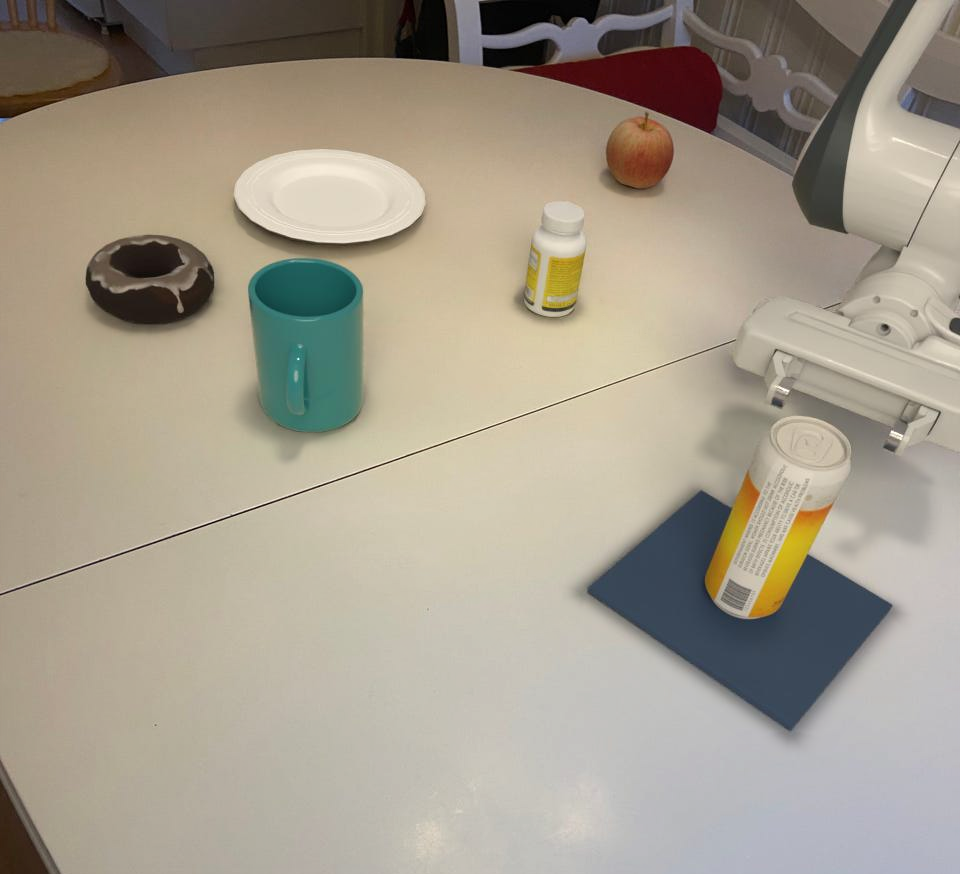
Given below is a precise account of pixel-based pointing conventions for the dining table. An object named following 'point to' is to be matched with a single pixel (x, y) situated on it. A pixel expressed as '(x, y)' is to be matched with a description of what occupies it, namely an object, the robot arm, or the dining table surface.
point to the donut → (150, 279)
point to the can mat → (735, 641)
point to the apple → (639, 152)
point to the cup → (308, 343)
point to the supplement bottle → (556, 260)
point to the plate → (329, 197)
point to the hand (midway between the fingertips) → (833, 422)
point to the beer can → (777, 515)
